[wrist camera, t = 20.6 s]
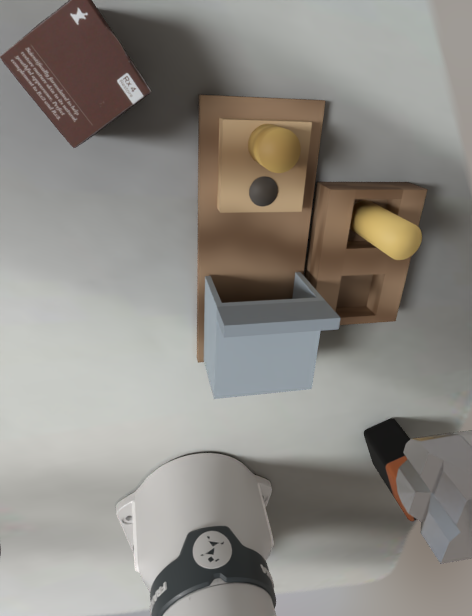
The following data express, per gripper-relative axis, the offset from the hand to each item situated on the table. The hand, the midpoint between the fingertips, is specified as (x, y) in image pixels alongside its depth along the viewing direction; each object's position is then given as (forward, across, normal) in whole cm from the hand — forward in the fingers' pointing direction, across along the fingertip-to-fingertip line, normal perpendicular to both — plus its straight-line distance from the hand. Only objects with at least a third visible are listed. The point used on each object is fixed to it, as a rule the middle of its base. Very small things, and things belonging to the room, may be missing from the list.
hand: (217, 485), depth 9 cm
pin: (+30, -19, +4) cm, 36 cm away
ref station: (+31, -9, +6) cm, 33 cm away
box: (+31, +4, -7) cm, 32 cm away
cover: (+30, -9, +13) cm, 34 cm away
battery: (+31, -28, +33) cm, 53 cm away
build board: (+31, -19, +7) cm, 37 cm away
